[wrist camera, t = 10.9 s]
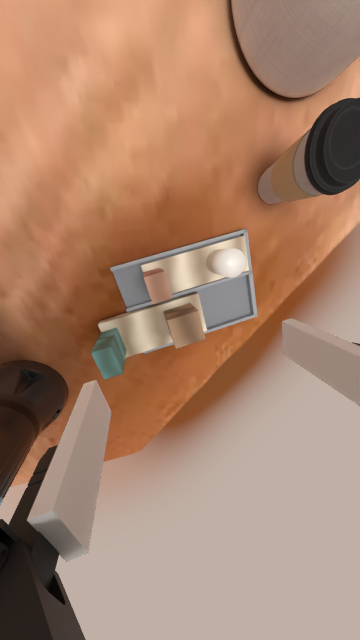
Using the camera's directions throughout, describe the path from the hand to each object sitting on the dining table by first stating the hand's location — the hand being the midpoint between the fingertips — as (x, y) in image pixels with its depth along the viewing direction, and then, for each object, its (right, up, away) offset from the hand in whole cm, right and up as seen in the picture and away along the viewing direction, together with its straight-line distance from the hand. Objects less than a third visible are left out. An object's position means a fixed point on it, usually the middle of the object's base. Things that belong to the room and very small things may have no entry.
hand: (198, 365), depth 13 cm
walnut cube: (-1, +3, +25) cm, 25 cm away
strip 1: (+1, +14, +25) cm, 28 cm away
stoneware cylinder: (+6, +14, +22) cm, 27 cm away
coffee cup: (+16, +28, +23) cm, 40 cm away
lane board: (+1, +9, +26) cm, 28 cm away
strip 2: (-7, +2, +27) cm, 28 cm away
